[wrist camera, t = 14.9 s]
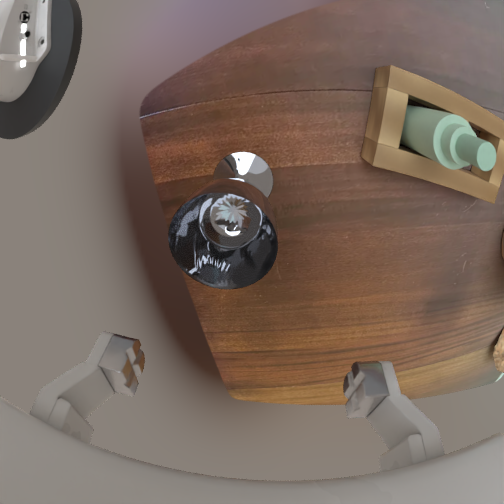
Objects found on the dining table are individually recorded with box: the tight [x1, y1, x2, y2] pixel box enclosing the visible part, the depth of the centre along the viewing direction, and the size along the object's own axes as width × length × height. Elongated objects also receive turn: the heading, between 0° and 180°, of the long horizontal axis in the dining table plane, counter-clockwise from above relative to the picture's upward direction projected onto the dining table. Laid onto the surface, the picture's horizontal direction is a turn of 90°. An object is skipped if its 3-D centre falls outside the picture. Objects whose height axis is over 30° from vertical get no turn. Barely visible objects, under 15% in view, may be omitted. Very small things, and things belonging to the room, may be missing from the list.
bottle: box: [400, 105, 496, 171], centre depth 21 cm, size 5×5×15 cm
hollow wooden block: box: [361, 65, 504, 204], centre depth 25 cm, size 11×20×4 cm, turn 84°
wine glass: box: [168, 152, 278, 289], centre depth 26 cm, size 8×8×15 cm
